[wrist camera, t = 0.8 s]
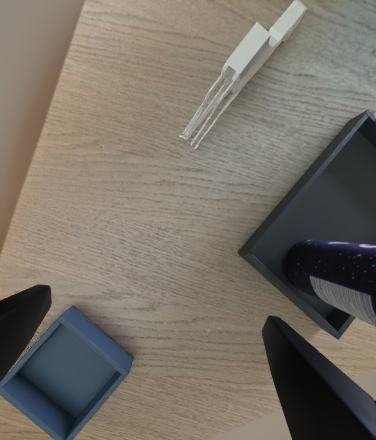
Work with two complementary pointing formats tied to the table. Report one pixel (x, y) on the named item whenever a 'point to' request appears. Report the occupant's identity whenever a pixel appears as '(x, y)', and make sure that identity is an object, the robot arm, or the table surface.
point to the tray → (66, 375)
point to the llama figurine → (246, 63)
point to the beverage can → (336, 275)
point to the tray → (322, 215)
